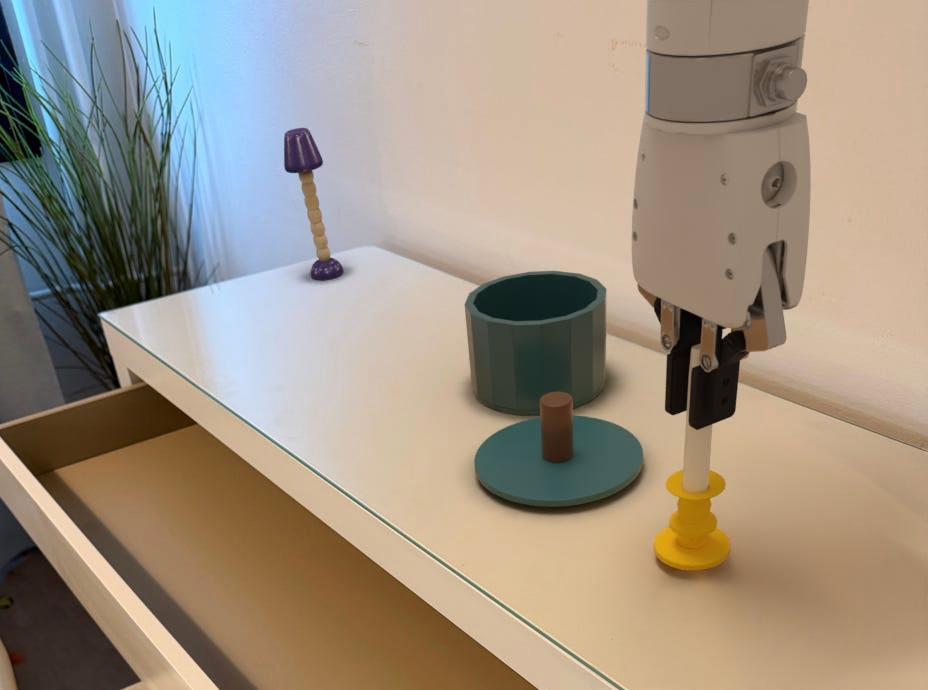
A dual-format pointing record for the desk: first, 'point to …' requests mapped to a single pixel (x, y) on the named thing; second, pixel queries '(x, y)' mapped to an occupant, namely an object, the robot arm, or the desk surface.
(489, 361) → the tin
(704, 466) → the candle
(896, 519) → the desk surface
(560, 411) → the lid
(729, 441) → the desk surface
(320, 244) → the toy lamp
